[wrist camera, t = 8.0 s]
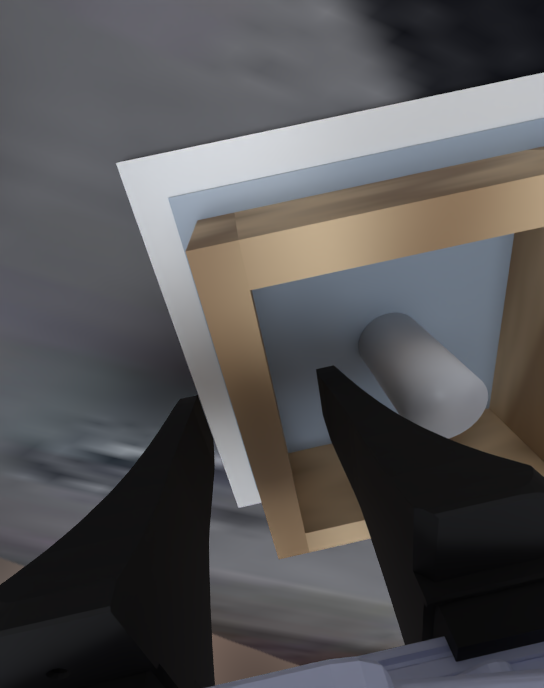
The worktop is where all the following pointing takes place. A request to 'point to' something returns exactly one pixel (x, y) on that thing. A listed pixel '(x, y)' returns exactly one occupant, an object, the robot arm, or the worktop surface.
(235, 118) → the worktop surface
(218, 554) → the worktop surface
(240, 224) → the wood collar
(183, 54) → the worktop surface
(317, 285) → the post stand
